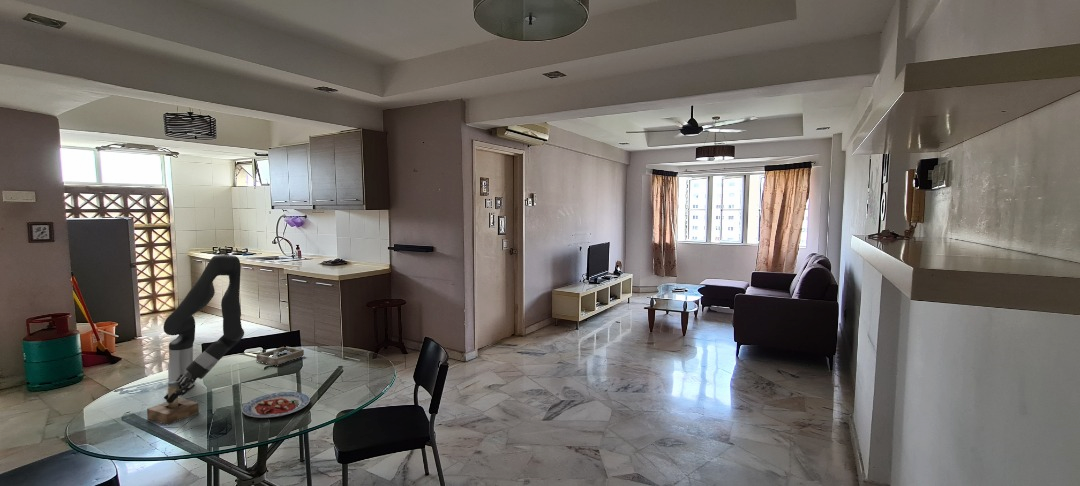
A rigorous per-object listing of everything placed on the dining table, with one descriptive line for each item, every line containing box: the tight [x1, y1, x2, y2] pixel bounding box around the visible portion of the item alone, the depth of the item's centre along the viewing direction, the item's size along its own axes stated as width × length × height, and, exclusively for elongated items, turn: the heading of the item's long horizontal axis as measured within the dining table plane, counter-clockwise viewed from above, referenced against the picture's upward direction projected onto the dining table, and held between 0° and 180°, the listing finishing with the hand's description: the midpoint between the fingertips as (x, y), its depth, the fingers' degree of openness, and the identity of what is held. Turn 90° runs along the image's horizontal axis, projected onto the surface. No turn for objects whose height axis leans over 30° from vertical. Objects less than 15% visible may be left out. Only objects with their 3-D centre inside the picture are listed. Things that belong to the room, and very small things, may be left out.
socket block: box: [146, 397, 200, 425], centre depth 189 cm, size 12×12×4 cm
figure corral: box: [256, 346, 305, 367], centre depth 261 cm, size 14×18×4 cm
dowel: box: [167, 381, 179, 409], centre depth 189 cm, size 3×3×12 cm
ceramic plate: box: [241, 391, 311, 419], centre depth 201 cm, size 26×26×3 cm
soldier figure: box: [272, 350, 279, 358], centre depth 259 cm, size 8×5×12 cm
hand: (167, 400), depth 188 cm, fingers closed on dowel, 3 cm apart
